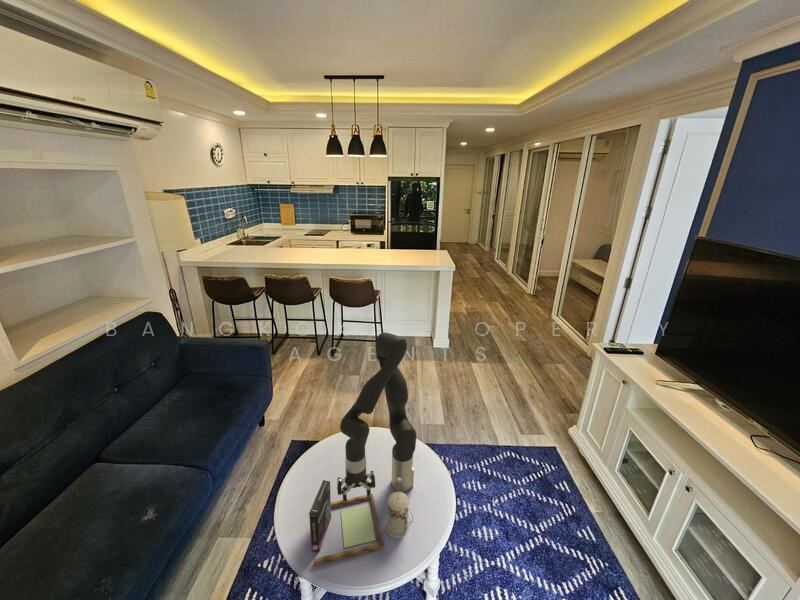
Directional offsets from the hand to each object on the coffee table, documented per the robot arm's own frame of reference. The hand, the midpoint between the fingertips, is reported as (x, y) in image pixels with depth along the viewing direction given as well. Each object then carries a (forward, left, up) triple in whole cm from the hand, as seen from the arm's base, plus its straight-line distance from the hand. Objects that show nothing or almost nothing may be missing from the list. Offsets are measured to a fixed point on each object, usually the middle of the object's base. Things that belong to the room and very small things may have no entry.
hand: (356, 497), depth 125 cm
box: (+14, 0, -15) cm, 20 cm away
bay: (+4, 0, -15) cm, 16 cm away
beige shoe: (-16, +5, -15) cm, 23 cm away
